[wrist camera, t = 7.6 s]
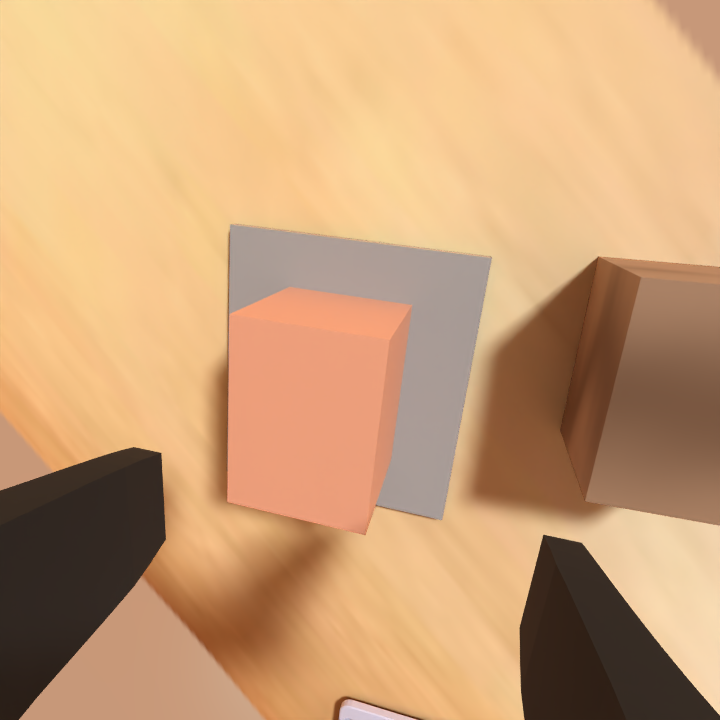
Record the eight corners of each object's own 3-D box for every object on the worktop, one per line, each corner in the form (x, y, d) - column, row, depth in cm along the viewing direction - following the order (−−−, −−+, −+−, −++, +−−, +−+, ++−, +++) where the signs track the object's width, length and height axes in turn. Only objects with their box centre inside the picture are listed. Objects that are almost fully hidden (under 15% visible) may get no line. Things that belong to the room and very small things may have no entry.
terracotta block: (390, 459, 19) (365, 535, 14) (281, 437, 19) (227, 502, 15) (412, 304, 17) (389, 340, 12) (289, 286, 17) (229, 314, 13)
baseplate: (442, 514, 19) (441, 520, 19) (231, 466, 21) (226, 471, 20) (491, 256, 16) (491, 257, 15) (235, 223, 18) (230, 224, 17)
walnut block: (698, 449, 16) (771, 534, 12) (559, 428, 17) (584, 501, 13) (756, 269, 14) (868, 298, 10) (597, 256, 15) (641, 277, 11)
